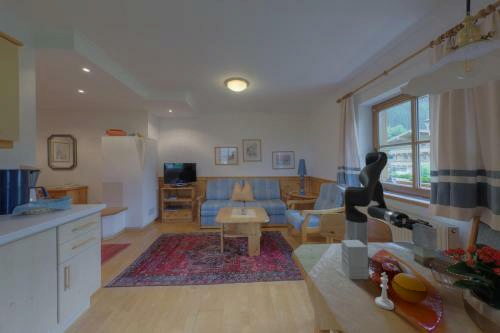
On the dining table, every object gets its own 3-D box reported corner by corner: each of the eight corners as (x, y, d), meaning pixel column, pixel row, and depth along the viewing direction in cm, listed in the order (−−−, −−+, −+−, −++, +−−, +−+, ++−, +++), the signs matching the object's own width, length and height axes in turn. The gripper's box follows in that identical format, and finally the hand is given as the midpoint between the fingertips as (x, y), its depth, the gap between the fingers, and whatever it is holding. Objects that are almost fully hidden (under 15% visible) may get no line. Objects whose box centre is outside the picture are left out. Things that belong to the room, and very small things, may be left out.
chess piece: (387, 311, 60) (387, 278, 60) (371, 301, 64) (371, 270, 64) (397, 306, 62) (397, 274, 62) (381, 297, 66) (381, 267, 66)
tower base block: (423, 266, 86) (423, 257, 86) (414, 261, 91) (414, 252, 91) (435, 266, 86) (435, 257, 86) (425, 261, 91) (425, 252, 91)
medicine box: (437, 249, 84) (437, 229, 84) (426, 249, 84) (426, 229, 84) (421, 242, 92) (421, 223, 92) (411, 242, 92) (411, 223, 92)
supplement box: (359, 269, 84) (359, 239, 83) (368, 280, 76) (368, 247, 76) (341, 269, 84) (341, 239, 84) (348, 279, 77) (348, 246, 76)
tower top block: (423, 257, 86) (423, 248, 86) (413, 252, 91) (413, 243, 91) (435, 257, 86) (435, 248, 86) (425, 252, 91) (425, 243, 91)
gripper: (382, 211, 106) (405, 220, 89) (410, 211, 105) (438, 219, 89) (382, 225, 106) (405, 236, 89) (410, 225, 105) (438, 236, 89)
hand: (422, 228), depth 89 cm, fingers open, 8 cm apart
